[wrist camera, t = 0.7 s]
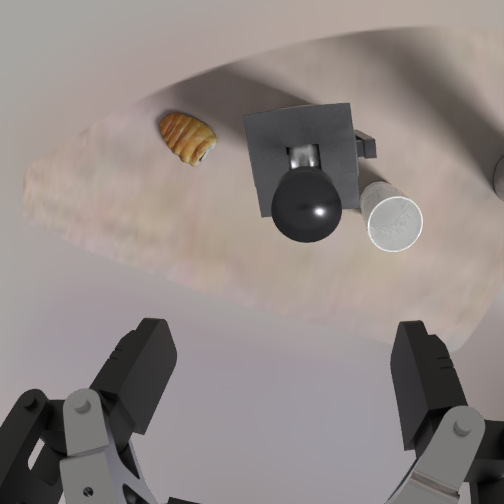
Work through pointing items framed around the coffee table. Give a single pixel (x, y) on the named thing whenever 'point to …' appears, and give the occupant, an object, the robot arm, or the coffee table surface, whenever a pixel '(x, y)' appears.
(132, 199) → the coffee table surface
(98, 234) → the coffee table surface
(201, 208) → the coffee table surface
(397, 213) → the white cup
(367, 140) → the square french press
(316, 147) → the plunger
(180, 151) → the pastry
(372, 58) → the coffee table surface
